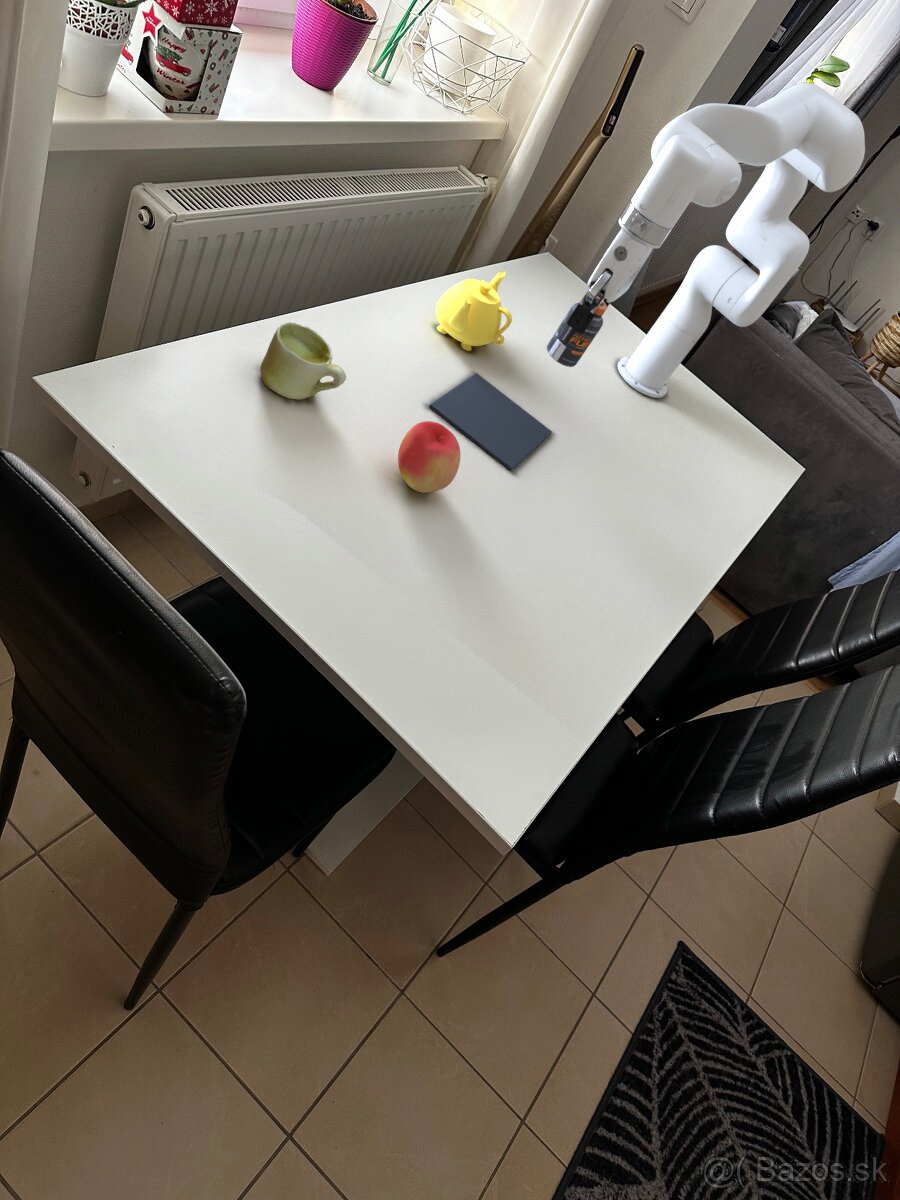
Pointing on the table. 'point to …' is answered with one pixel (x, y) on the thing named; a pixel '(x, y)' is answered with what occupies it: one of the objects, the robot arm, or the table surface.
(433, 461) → the apple
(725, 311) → the robot arm
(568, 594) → the table surface
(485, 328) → the teapot
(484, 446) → the mat
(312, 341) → the mug
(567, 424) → the table surface
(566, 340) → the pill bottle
